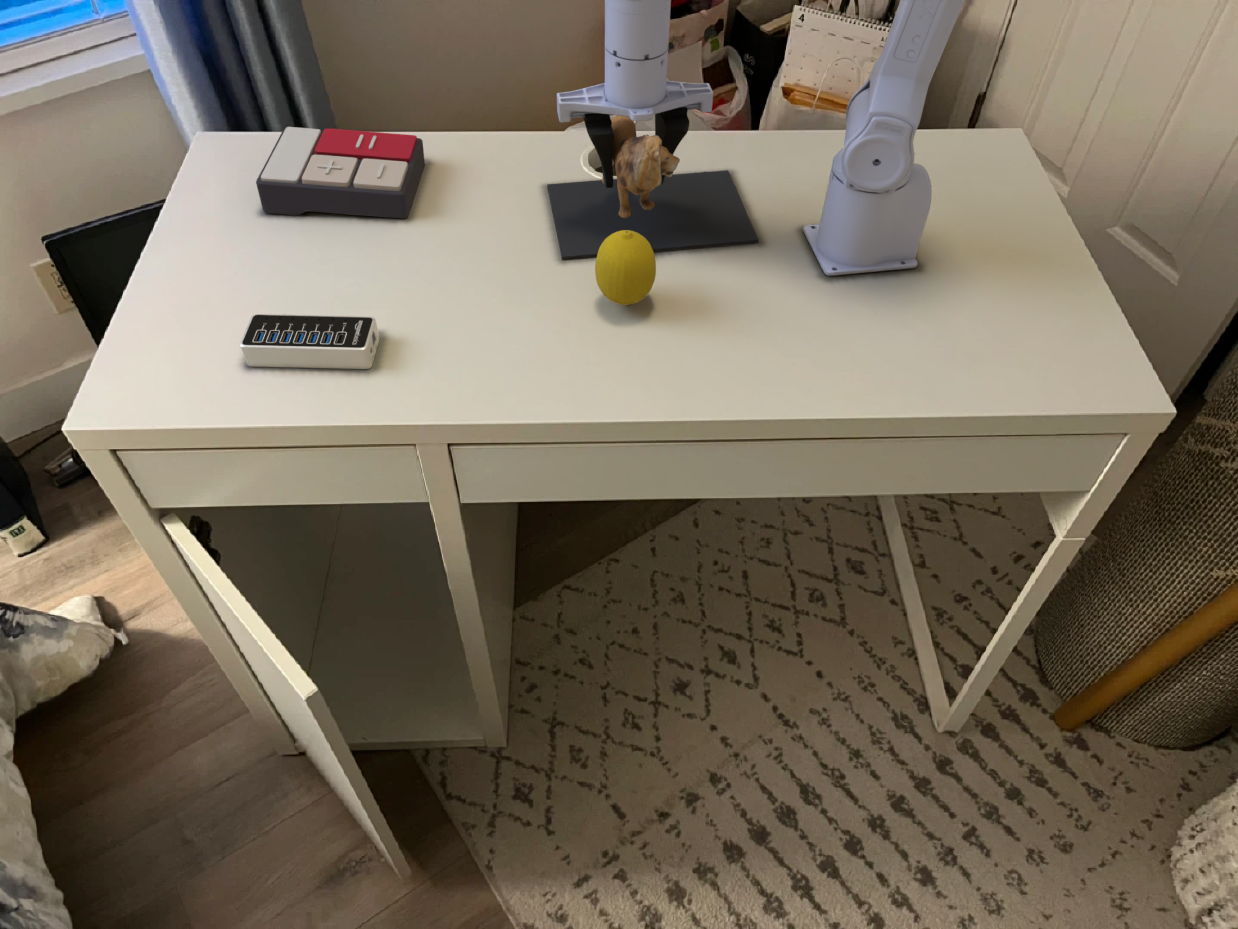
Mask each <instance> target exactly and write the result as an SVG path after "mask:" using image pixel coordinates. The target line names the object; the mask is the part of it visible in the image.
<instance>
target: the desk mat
mask: <svg viewBox="0 0 1238 929" xmlns="http://www.w3.org/2000/svg"><path fill="white" fill-rule="evenodd" d="M617 183H618V181H617V178H613V188H606V187H605V184H604V183H602V179H599V180H584V181H573V182H560V183H558V182H557V183H547V184H546V188H547V194H548V197H549V202H550V207H551V212H552V218H553V222H554V226H555V231H556V236H557V241H558V246H559V250H560V251H559V252H560V256H561V260H562V261H566V260H567V261H568V260H577V259H579V260H580V259H588V258H597V254H598V251H599V248H600V246H601V244H602V243H603V242H604V240H605V239H606V238H607V237H608V236H610V235H611V234H613V233H615V232H618V231H622V230H630V231H634V232H637V233H639V234H640V235H642V236H643V237H645V238H646V240H647V241H648V242H649V243H650V245H651V247H652V250H653V252H654V253H657V252H658V253H659V252H669V251H680V250H691V249H703V248H714V247H716V248H717V247H724V246H726V247H727V246H737V245H749V244H758V243H759V240H760V238H759V237H758V235H757V233H756V230H755V228H754V226H753V224H752V221H751V219H750V217H749V214H748V212H747V209H746V208H745V206H744V203H743V201H742V198H741V196H740V194H739V192H738V189H737V187H736V185H735V183H734V180H733V178H732V175H731V173H730V171H729V170H728V169H726V170H716V171H715V170H713V171H702V172H700V171H699V172H691V173H689V172H687V173H675V174H674V173H673V175H672V176H671V177H668V176H666V175H665V177H664V182H663V184H660V185H659V186H657V187H656V188H654V189H653V190H652V191H650V194H649V200H650V201H652V202H654V203H655V205H654V207H653V208H652V209H651V210H645V209H644V208H643V207H642V206H641V204H640V195H641V194H639V195H635V194H634V193H632V192H631V191H629V194H628V199H629V204H630V207H631V211H630V212H631V216H630V217H627V218H622V217H620V216H619V210H620V200H619V193H618V188H617Z"/></svg>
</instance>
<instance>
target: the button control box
mask: <svg viewBox="0 0 1238 929" xmlns="http://www.w3.org/2000/svg"><path fill="white" fill-rule="evenodd" d="M424 166H425V151H424V140H423V139H422V138H420V137H417V135H414V134H404V133H392V132H390V133H389V132H378V131H365V130H354V129H353V130H352V129H341V128H340V129H339V128H328V127H327V128H324V129H323V130H322V129H319V128H311V127H310V128H308V127H297V126H296V127H295V126H294V127H293V126H286V127H285V128H283V129H282V131H281V133H280V135H279V137H278V139H277V140H276V143H275V145H274V146H273V148H272V150H271V152H270V154H269V156H268V158H267V160H266V162H265V163H264V165H263V168H262V169H261V171H260V173H259V175H258V177H257V178H256V180H255V184H256V188H257V193H258V196H259V200H260V205H261V208H262V211H263V212H264V213H265V214H277V215H288V216H290V215H291V216H300V215H302V214H305V212H315V213H325V214H326V213H328V214H339V215H350V216H351V215H353V216H363V217H364V216H367V217H378V218H391V219H406V218H408V216H409V214H410V210H411V207H412V204H413V201H414V198H415V195H416V192H417V190H418V189H417V188H418V186H419V183H420V179H421V177H422V173H423V170H424Z"/></svg>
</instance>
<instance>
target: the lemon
mask: <svg viewBox="0 0 1238 929" xmlns="http://www.w3.org/2000/svg"><path fill="white" fill-rule="evenodd" d="M655 256H656V255H655V252H653V250H652V247H651V245H650V243H649V242H648V241H647V240H646V238H645V237H643V236H642V235H640V234H639V233H637V232H634V231H630V230H622V231H618V232H615V233H613V234H611V235H610V236H608V237H607V238H606V239H605V240H604V242H603V243H602V244H601V246H600V248H599V251H598V254H597V257H595V264H594V273H595V280H596V284H597V287H598V288H599V291H600V292H601V293H602V295H603V296H604V297H605V298H606V299H608V300H609V301H610V302H612V303H614V304H617V305H620V306H621V305H622V306H628V305H629V306H630V305H634V304H636V303H639V302H641V301H642V300H643V299H645V298H646V297H647V296H648V294H650V291H651V290H652V288H653V286H654V283H655V279H656V274H657V272H656V271H657V264H656V257H655Z"/></svg>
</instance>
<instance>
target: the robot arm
mask: <svg viewBox="0 0 1238 929" xmlns="http://www.w3.org/2000/svg"><path fill="white" fill-rule="evenodd" d="M965 1H966V0H900V1H899V4H898V5H897V6H898V7H897V9H896V12H895V15H894V18H893V20H892V23H891V26H890V28H889V31H888V34H887V36H886V39H885V42H884V44H883V47H882V50H881V53H880V55H879V57H878V58H877V59H876V60H875V62H874V63H873V65H872V68H871V71H870V73H869V75H868V78H867V79H866V81H865V82H864V83H863V84H862V86H860V87H859V88H858V89H857V90H855V92H854V93H853V94H852V96H851V98H850V99H849V101H848V104H847V106H846V112H845V121H846V125H845V133H844V141H843V146H842V148H841V149H840V150H839V151H838V152H837V153H836V154H835V155H834V157H833V159H832V162H831V167H830V173H829V177H828V182H827V187H826V192H825V197H824V202H823V206H822V211H821V215H820V216H821V217H820V221H819V223H817V224H806V225H804V226H803V228H802V229H803V230H802V231H803V233H804V235H805V237H806V240H807V242H808V243H809V246H810V247H811V249H812V252H813V253H814V255H815V257H816V259H817V261H818V263H819V265H820V267H821V269H822V271H823V273H824V274H825V275H826V276H828V277H829V276H831V277H832V276H842V275H851V274H852V275H853V274H861V273H863V274H864V273H873V272H875V273H876V272H887V271H895V270H903V269H904V270H906V269H914V268H917V266H918V263H919V262H918V260H917V259H916V256H917V253H918V250H919V246H920V243H921V240H922V236H923V233H924V230H925V227H926V224H927V220H928V217H929V214H930V210H931V205H932V196H933V195H932V194H933V193H932V190H933V189H932V182H931V178H930V175H929V173H928V170H927V169H926V168H925V166H924V165H923V164H921V163H915V147H914V139H915V135H916V133H917V130H918V128H919V126H920V122H921V119H922V116H923V115H922V114H923V111H924V106H925V103H926V98H927V94H928V91H929V86H930V84H931V82H932V79H933V77H934V74H935V71H936V69H937V67H938V65H939V63H940V60H941V57H942V55H943V53H944V50H945V48H946V45H947V44H948V41H949V38H950V36H951V34H952V33H953V32H952V31H953V30H954V26H955V24H956V22H957V19H958V17H959V15H960V12H961V10H962V7H963V5H964V3H965ZM671 4H672V0H604V82H603V83H599V84H596V85H591V86H587V87H584V88H580V89H576V90H570V91H563V92H557V93H556V111H557V118H558V121H559V123H569V122H571V121H572V119H578V118H580V119H581V118H582V119H583V122H584V126H585V130H586V133H587V135H588V138H589V139H590V142H591V143H592V145H593V147H594V149H595V151H596V153H597V156H598V158H599V161H600V164H601V170H602V178H603V179H604V183H605V187H606V188H613V179H614V165H613V166H612V156H613V143H614V132H613V129H612V121H611V119H612V118H611V116H617V115H619V116H628V117H630V119H631V120H632V121H634V122H647V121H648V122H649V121H652V120H653V119H654V135H657V136H659V138H660V139H661V140H662V146H663V147H665V148H667V149H668V151H669V153H671V154H672V155H674V154H675V152H676V150H677V148H678V147H679V145H680V143H681V142H682V141H683V139H684V138H685V137H686V136H687V134H688V133H689V132H688V131H689V128H690V119H689V117H688V111H694V110H699V111H700V113H704V114H705V113H712V111H713V103H714V102H713V101H714V92H713V88H712V87H711V85H710V82H709V83H708V82H703V83H700V82H684V81H674V80H668V65H669V43H670V28H671V27H670V25H671V7H672V6H671ZM664 177H665V175H662V176H661V178H662V180H661V184H663V182H664Z"/></svg>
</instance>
